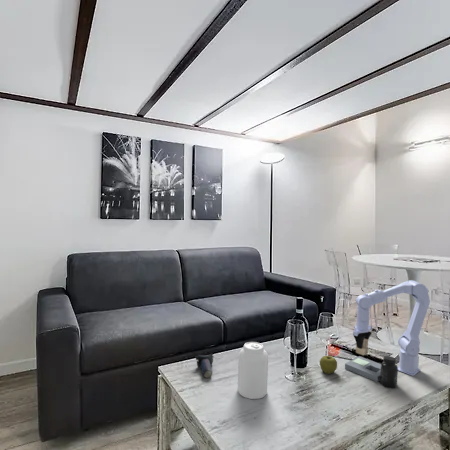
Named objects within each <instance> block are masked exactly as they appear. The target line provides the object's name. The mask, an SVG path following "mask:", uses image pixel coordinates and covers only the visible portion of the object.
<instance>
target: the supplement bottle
mask: <svg viewBox="0 0 450 450" xmlns="http://www.w3.org/2000/svg"><path fill="white" fill-rule="evenodd" d="M380 364H381V374H380V381H379V382H380V384H381V385H382V386H383V387H386V388H388V389H389V388H390V389H395V388H397V386H398V374H399V373H398V372H399V371H398V367H399V366H398V365H396V364H397V360H396V358H395V357H393V356H389V355H386V356H384V357H383V361H382V362H381V363H380Z"/></svg>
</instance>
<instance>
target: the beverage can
mask: <svg viewBox="0 0 450 450" xmlns="http://www.w3.org/2000/svg"><path fill="white" fill-rule="evenodd" d="M214 355H215V354H214V353H212V352H211V353H209V354H202V355H201V354H197V355H196V356H195V360H196V366H197V368H201V371H202V375H203V377H204V378H205V379H208V378H212V376H213V368H212V367H213V363H214V357H215V356H214Z"/></svg>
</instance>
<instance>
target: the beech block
mask: <svg viewBox="0 0 450 450" xmlns="http://www.w3.org/2000/svg"><path fill="white" fill-rule="evenodd" d="M368 351H369V339H365V338H364V340H363V345H362V349H360V348H357V345H356V344H355V353H356V354H358V355H361V356H365V355H367V354H368Z"/></svg>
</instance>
